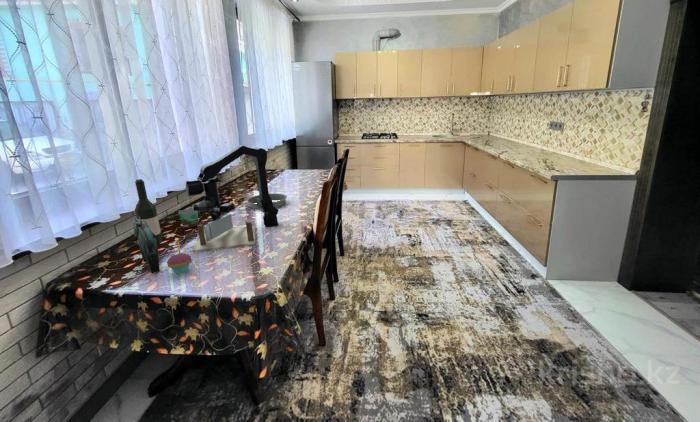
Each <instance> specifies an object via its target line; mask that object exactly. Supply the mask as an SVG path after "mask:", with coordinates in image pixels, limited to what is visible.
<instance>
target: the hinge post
mask: <svg viewBox="0 0 700 422" xmlns="http://www.w3.org/2000/svg"><path fill="white" fill-rule="evenodd" d="M196 227H197V232H198V238H199V239H200V244H201V245H206V240H205V234H204V232H205V230H204V224H203V223H202V224H201V223H200V224H198V225H197V226H196Z"/></svg>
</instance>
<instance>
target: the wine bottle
mask: <svg viewBox="0 0 700 422" xmlns="http://www.w3.org/2000/svg"><path fill="white" fill-rule="evenodd" d="M134 183H135V188H136V192H137V197H138V202H137V204H136V206H135V208H134V211H135V213H134V214H135V217H136V219H137V220H139V221H140V219H139V216H140V217H141V221H143V220H145V221H146V222H147V224H148V226H149V228H150V230H151V231H152V232H153V233H154V234H155V237H156V240H157V245H158V244H160V243H162V242H163V237H162V231H161V226H160V221H159V217H158V211H157V208H156V206H155V205H154V204H153V203H152V202H151V201H150V200H149V199H148V193H147V190H146V185H145V184H146V183H145V181H144V180H143V179H142V178H137V179H135V181H134Z"/></svg>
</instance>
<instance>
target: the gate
mask: <svg viewBox="0 0 700 422" xmlns="http://www.w3.org/2000/svg"><path fill="white" fill-rule="evenodd" d="M203 228H204V232H205V235H206V241H211V239H214V238H216V237H217V236H219V235H221V234H223V233H224V232H226V231H228V230H230V229H232V228H234V225H233V218H232V214H231V213H227V214H225V215H223V216H220V218H219V219H217V220H215V221H213V220H212V221H211V222H209V223H206V224H205V225H204V224H203Z"/></svg>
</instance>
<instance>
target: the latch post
mask: <svg viewBox="0 0 700 422" xmlns="http://www.w3.org/2000/svg"><path fill="white" fill-rule="evenodd" d="M252 222H253V221H252V219H248V220H245V227H246V228H247V236H248V241H254V237H253V229H252V226H253V223H252Z"/></svg>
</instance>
